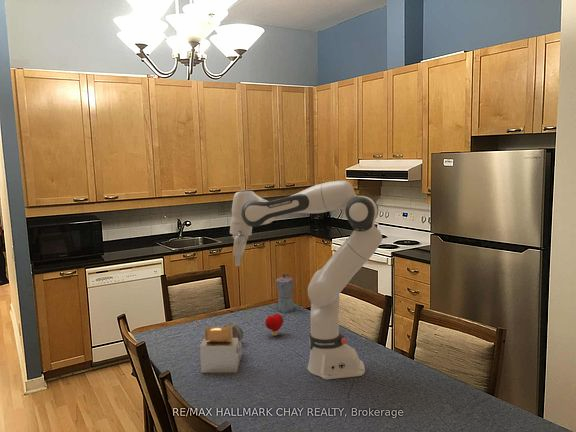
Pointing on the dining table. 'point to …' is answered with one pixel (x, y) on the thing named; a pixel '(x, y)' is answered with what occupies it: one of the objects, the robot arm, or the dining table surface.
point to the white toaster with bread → (220, 350)
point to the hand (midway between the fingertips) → (238, 263)
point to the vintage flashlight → (235, 330)
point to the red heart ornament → (274, 323)
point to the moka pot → (285, 294)
